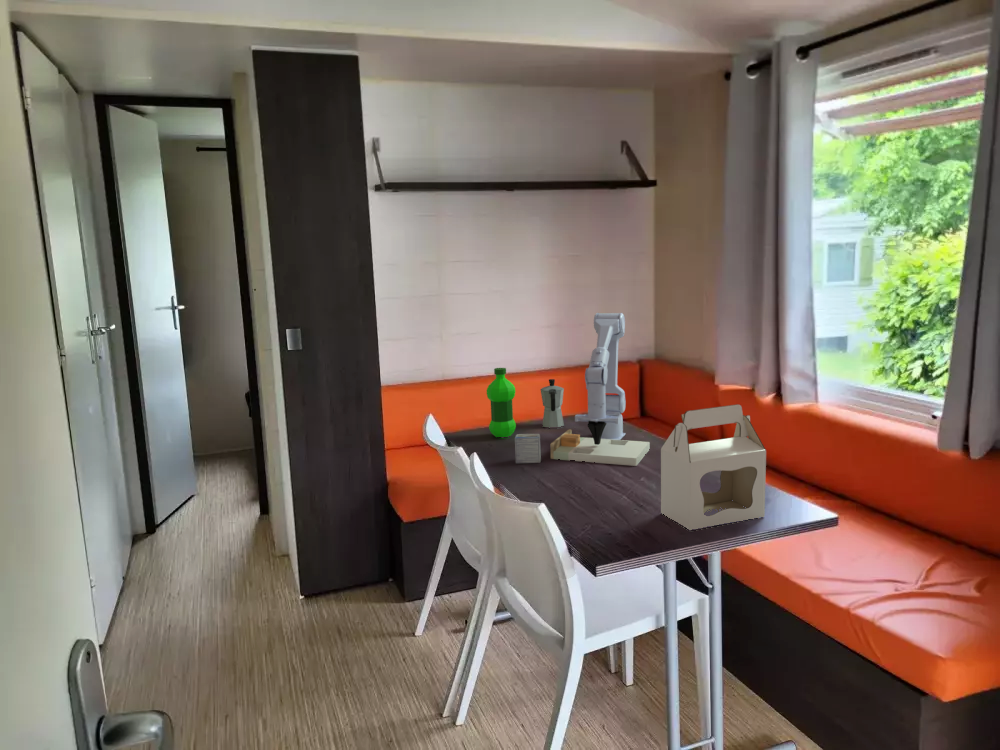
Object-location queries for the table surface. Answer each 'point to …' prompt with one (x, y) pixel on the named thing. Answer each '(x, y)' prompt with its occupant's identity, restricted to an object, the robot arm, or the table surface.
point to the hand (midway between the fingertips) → (597, 443)
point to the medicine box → (527, 448)
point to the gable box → (730, 455)
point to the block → (570, 440)
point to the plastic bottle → (501, 405)
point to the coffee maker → (552, 405)
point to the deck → (601, 451)
